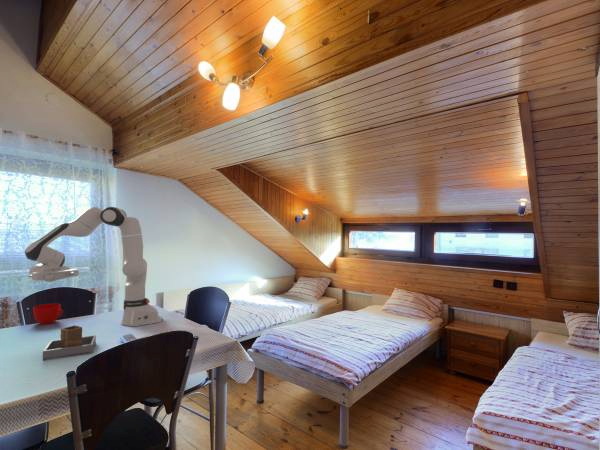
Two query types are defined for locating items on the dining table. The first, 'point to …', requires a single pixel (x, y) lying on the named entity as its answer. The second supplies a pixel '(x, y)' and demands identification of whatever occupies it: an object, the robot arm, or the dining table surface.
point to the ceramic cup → (47, 313)
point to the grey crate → (69, 348)
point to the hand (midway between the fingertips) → (63, 275)
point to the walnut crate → (71, 336)
